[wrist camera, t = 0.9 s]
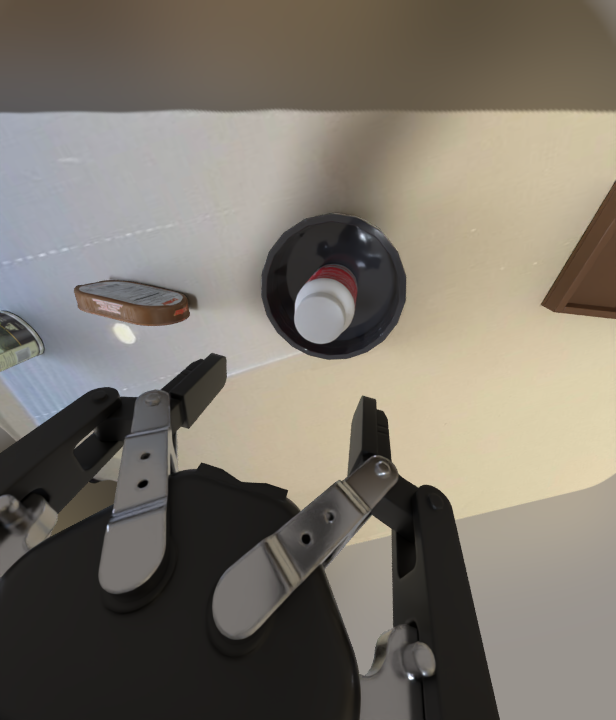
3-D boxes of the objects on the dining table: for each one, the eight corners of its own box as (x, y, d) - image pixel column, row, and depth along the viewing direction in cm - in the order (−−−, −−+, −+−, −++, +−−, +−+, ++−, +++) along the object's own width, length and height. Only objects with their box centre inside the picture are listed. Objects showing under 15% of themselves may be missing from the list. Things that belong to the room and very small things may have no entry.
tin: (116, 292, 39) (61, 310, 32) (110, 272, 37) (51, 287, 30) (201, 312, 37) (163, 335, 30) (199, 292, 36) (158, 312, 29)
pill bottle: (315, 257, 29) (290, 279, 20) (364, 269, 29) (361, 296, 20) (306, 305, 33) (282, 342, 24) (350, 316, 32) (343, 358, 23)
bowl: (304, 184, 26) (293, 179, 22) (432, 258, 27) (442, 266, 23) (258, 310, 35) (245, 321, 31) (355, 361, 36) (353, 379, 32)
